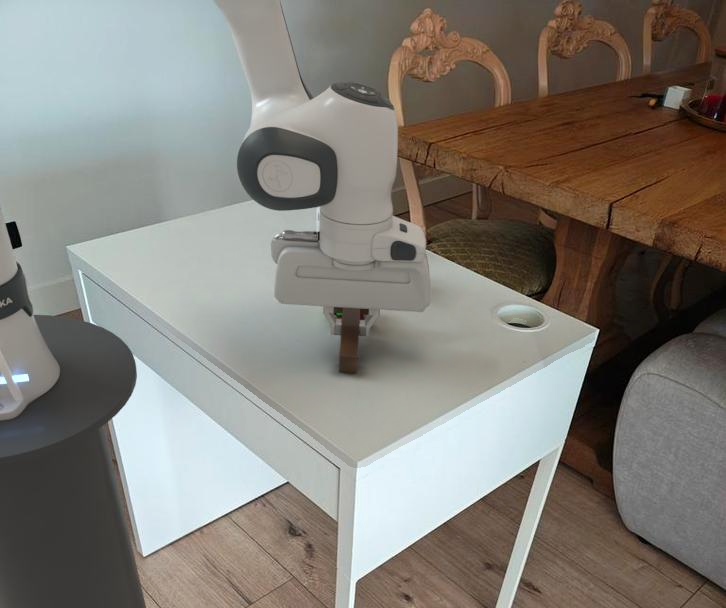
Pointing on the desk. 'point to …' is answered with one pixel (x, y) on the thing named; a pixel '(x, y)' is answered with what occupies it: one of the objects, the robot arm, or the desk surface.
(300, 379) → the desk surface
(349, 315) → the brown t-shaped block
